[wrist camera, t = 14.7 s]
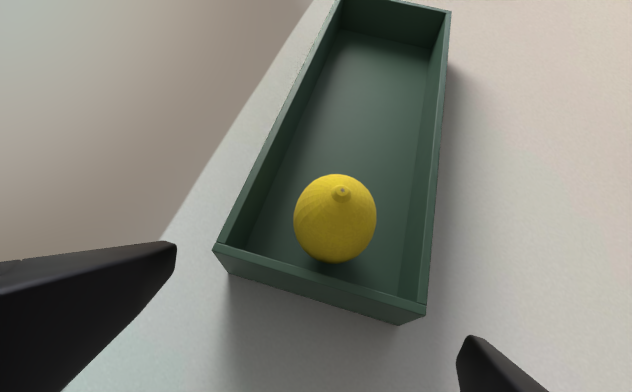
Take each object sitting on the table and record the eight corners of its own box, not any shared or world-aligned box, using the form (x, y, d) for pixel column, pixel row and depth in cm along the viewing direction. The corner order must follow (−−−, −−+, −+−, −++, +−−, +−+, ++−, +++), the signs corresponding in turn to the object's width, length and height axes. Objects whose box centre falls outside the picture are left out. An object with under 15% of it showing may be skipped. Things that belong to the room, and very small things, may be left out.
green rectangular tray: (399, 326, 21) (426, 316, 17) (227, 272, 22) (211, 250, 18) (433, 51, 38) (451, 11, 34) (336, 29, 39) (341, -13, 35)
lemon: (364, 278, 22) (396, 238, 15) (291, 274, 22) (289, 233, 15) (360, 212, 25) (386, 153, 18) (295, 209, 25) (296, 148, 18)
